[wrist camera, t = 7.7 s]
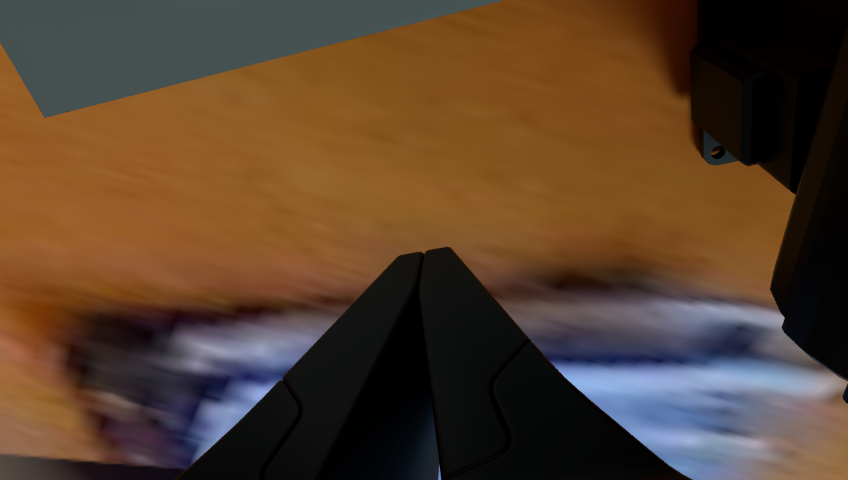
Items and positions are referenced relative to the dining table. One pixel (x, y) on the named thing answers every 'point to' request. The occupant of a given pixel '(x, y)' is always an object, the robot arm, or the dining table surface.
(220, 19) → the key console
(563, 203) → the dining table surface
